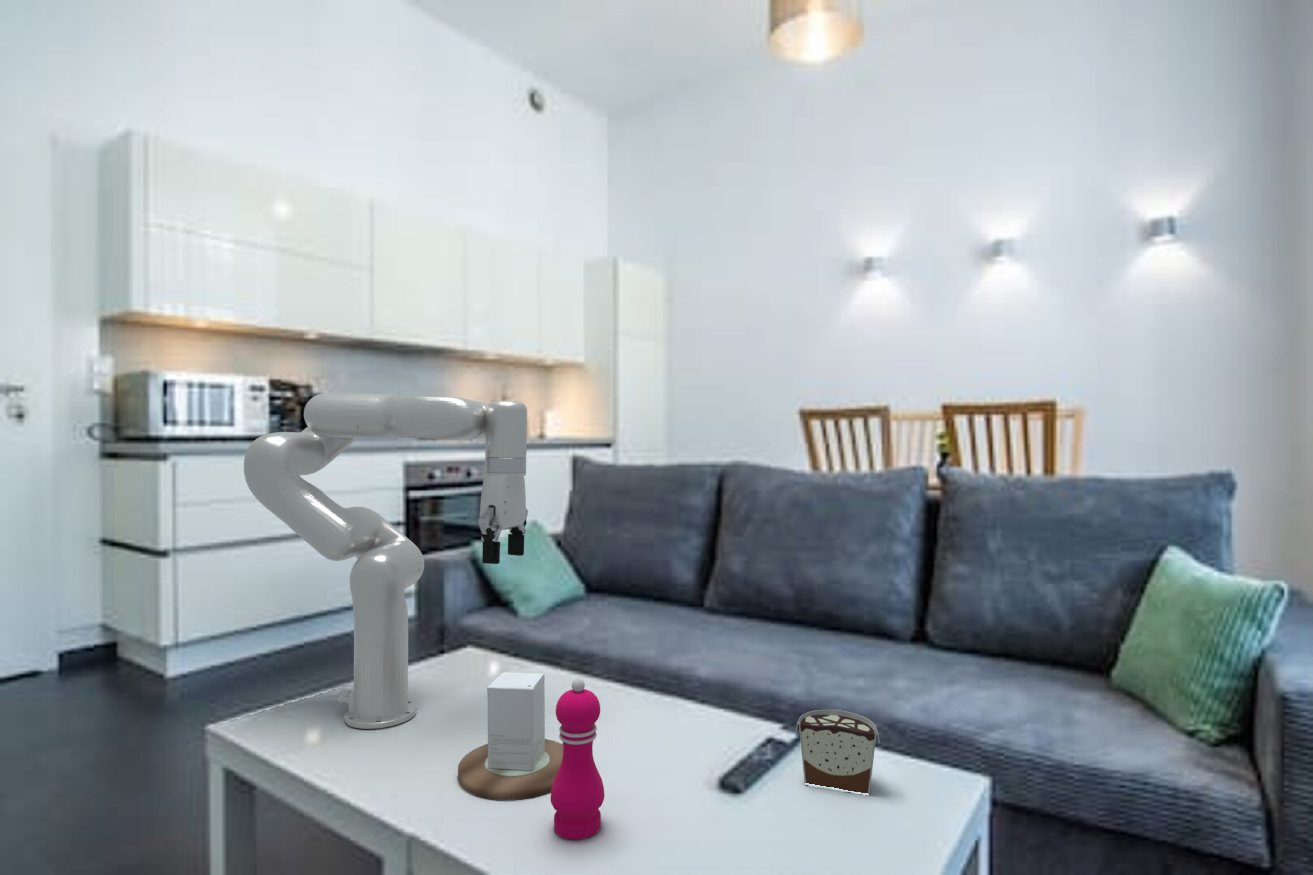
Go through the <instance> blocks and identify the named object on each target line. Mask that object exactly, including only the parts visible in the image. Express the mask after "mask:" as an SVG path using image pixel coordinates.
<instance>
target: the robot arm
mask: <svg viewBox="0 0 1313 875" xmlns="http://www.w3.org/2000/svg"><path fill="white" fill-rule="evenodd" d="M303 418H304V422H305V424H306V425H307V427H305V428H304V429H303V430H302V431H301V432H299V431H297V432H294V431H293V432H292V431H277V432H270V433H265V434H263V435H261V436H259V437H257V438H256V439H255V440H253V441H252V442H251V443H250V445H249V446H248V447H247V449H246V451H245V455H244V460H243V474H244V475H243V476H244V479H245V482H246V484H247V487H248V489H249V491H250V492H251V494H252V496H254V497H255V499H256V500H257V502H259V503H260V504H261V505H262V506H263V507H264V508H265V509H267V510H268V511H270V512H271V513H272V514H273V515H274V516H276V518H278V519H279V520H280V521H282V522H283V523H285V525H286V526H288V528H290V529H291V530H292V531H293V532H294V533H295V534H297V535H298V536H299V537H300V538H301V539H302V540H303V541H305V542H306V543H307V544H308V545H309V546H311V547H312V548H313V549H314V550H315V551H316V552H317V553H318V554H320V555H321V556H323V557H324V558H325V559H327V560H329V561H335V562H339V561H346V560H348V559H352V558H354V557H355V558H356V559H357V560H356V561H355V562H354V564H353V566H352V567H351V570H350V574H349V589H350V596H351V600H352V609H353V610H352V611H353V689H349V688H348V689H347V688H343V689H341V690H340V691H339V696H338V697H337V700H336V702H337V704H339V705H340V704H341V705H346V704H347V706H348V709H347V710H346V711H345V713H344V716H343V717H344V723H345V724H346V725H347V726H349V727H351V728H356V729H361V730H362V729H363V730H375V729H376V730H377V729H384V728H389V727H393V726H397V725H400V724H403V723H405V722H407V721H409V720H411V719H412V718H413V717H414V716H415V715H416V714H417V709H418V708H417V704H416V703H415V702H414V701H412V700H410V699H408V698H409V612H408V605H407V600H406V595H405V590H406V589H407V588H409V587H411V586H412V585H414V584H415V583H416V582H418V581H419V580H420V579H421V577H422V575H423V573H424V570H425V559H424V555H423V554H422V551H421V550H420V549H419V547H418V546H417V545H416V544H415V543H414V542H413V541H412V540H410V539H409V538H408V537H407V536H406V535H404V533H402V532H401V531H400V530H399V529H398V528H396V527H395V526H394V525H392V524H391V522H390V521H388V520H387V519H386V518H384V517H383V516H382V515H381V514H379V513H378V512H376V511H374V510H372V509H370V508H368V507H362V506H350V507H343V506H341V505H339V504H338V502H335V501H334V500H333V499H331V497H329V496H328V495H327V494H325V492H323V490H322V489H320V488H319V487H317V486H316V485H314V484H312V483H310V482H308V481H307V480H305V479H304V478H303V477H301V476H308V475H312V474H315V473H318V472H319V471H321V470H323V469H325V468H326V466H327V465H329V464H330V463H331V462H333V461H334V460H335V459H336V458H337V457H338V456H339V455H341V454H342V453H343V452H344V451H345V450H346V449H348V447H350V446H351V445H352V444H353V443H354V442H356V440H358V439H374V440H398V439H431V440H451V441H453V440H459V441H460V440H461V441H462V440H463V441H464V440H465V441H466V440H467V441H470V440H477V439H485V445H484V446H485V448H484V449H485V452H484V453H485V454H484V458H485V460H484V477H483V480H482V481H483V482H482V487H481V488H482V489H481V494H480V507H479V508H480V509H479V518H478V521H477V522H478V527H479V533H480V536H481V538H480V539H481V542H482V554H481V555H482V558H481V561H482V563H483V564H491V565H498V564H500V563H501V562H500V561H501V541H499V538H500V535H501V533H502V531H506V530H508V531H509V532H510V533H508V534H507V554H508V555H509V556H516V557H517V556H519V557H520V556H521V557H522V556H524V554H525V534H526V525H527V523H528V522H527V520H528V519H527V518H528V516H529V515H528V513H529V511H528V508H527V503H526V502H527V501H526V482H525V481H526V480H525V476H526V475H527V445H528V444H527V442H528V441H527V439H528V437H527V435H528V409H527V406H526V404H524V402H520V401H512V400H496V401H495V400H494V401H491V402H483V401H477V400H473V399H468V398H462V397H447V396H445V397H444V396H419V395H418V396H414V395H413V396H411V395H409V396H408V395H400V394H393V393H363V392H362V393H361V392H332V391H331V392H329V391H328V392H323V393H319V394H316V395H314V396H312V398H310V399H309V400H308V402H307V403H306V404H305V406H304V409H303Z"/></svg>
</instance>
